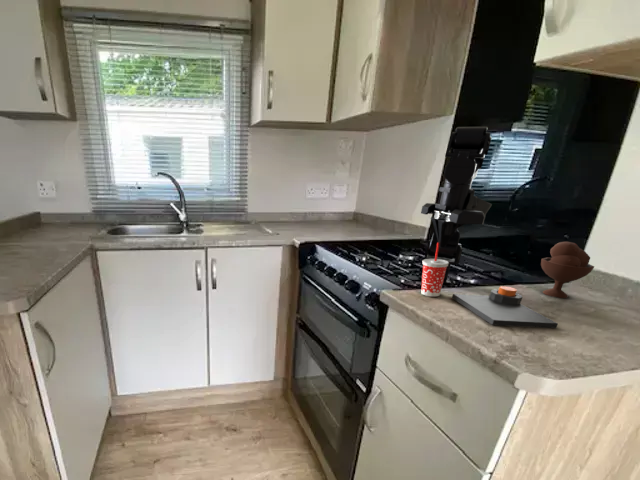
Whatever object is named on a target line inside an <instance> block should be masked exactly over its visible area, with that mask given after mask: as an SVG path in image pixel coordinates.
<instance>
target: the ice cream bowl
mask: <svg viewBox="0 0 640 480" xmlns="http://www.w3.org/2000/svg"><path fill="white" fill-rule="evenodd" d="M549 253H550V256H551V257H543V258H541V260H540V266H541V269H542V271H543V272H544V273H545V275H547V276H548V278H550V279H552V280H554V285H553V287H552V288H548V289H544V290H543V291H542V293H543V294H544V295H546V296H549V297H553V298H559V299H567V298H568V297H569V296H568V294H567V293H566V292H564V291H563V290H562V288H563V286H564V284H565V283H568V282H570V283H571V282H574V281H575V282H576V281H577V280H580V279H582V278H584V277H587V276H588V275H589V274H590V273H592V271H593V270H594V268H595V266H594V265H592V264H590V260H591V256H590V255H589V254H588V253H587V252H586V251H585V250H584V249H582V248H580V247H579V246H578V244H577V243H575V242H572V241H560V242H558V243H555V244H554V246H552V247H551V248H550V251H549Z"/></svg>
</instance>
